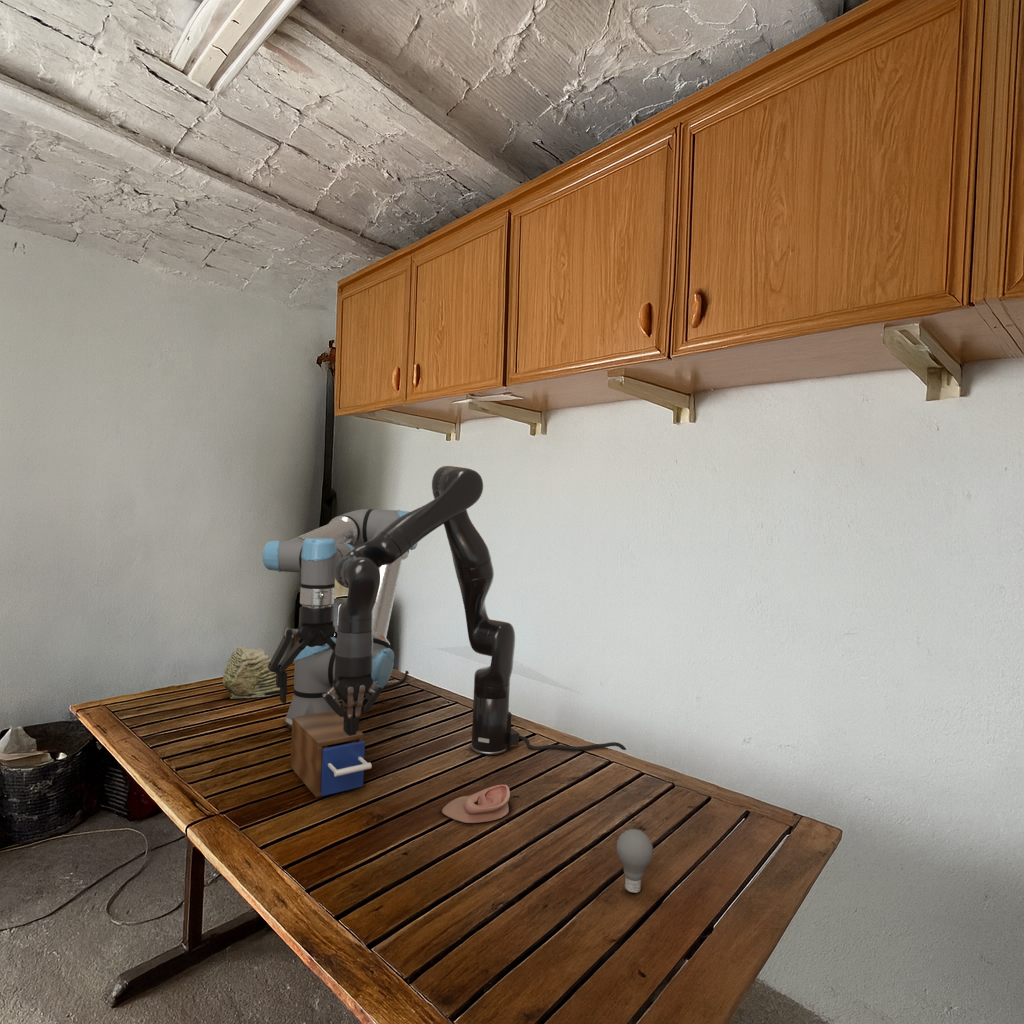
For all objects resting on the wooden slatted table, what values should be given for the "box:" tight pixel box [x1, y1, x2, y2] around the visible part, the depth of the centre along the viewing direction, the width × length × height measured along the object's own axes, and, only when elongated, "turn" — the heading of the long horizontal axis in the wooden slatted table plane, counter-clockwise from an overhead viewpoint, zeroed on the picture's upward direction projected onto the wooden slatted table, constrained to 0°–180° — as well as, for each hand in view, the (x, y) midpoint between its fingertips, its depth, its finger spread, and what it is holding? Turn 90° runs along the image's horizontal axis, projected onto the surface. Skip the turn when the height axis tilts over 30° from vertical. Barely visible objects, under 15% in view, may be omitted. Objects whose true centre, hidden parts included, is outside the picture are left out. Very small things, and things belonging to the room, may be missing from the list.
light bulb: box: [615, 828, 654, 894], centre depth 106 cm, size 6×6×10 cm
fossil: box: [222, 646, 280, 699], centre depth 198 cm, size 9×18×15 cm, turn 132°
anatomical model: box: [441, 784, 511, 824], centre depth 131 cm, size 13×4×12 cm
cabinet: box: [289, 711, 365, 798], centre depth 143 cm, size 18×10×12 cm, turn 36°
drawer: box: [321, 740, 373, 797], centre depth 139 cm, size 22×9×10 cm, turn 36°
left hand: (313, 697), depth 146 cm, fingers open, 13 cm apart
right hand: (351, 734), depth 132 cm, fingers closed
